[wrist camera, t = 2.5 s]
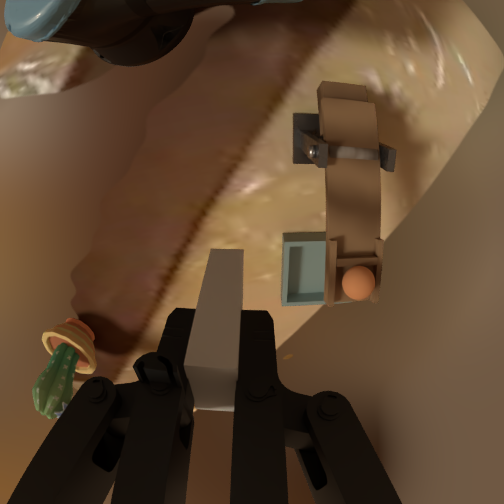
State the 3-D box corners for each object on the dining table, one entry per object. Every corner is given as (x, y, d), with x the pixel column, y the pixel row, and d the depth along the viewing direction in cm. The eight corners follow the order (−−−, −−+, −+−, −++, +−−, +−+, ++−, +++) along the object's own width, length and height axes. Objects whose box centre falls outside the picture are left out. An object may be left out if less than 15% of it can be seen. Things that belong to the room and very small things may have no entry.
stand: (292, 113, 33) (311, 119, 23) (362, 118, 33) (404, 129, 23) (292, 162, 37) (309, 189, 26) (359, 164, 36) (397, 192, 26)
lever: (313, 89, 28) (323, 72, 23) (359, 94, 28) (376, 80, 23) (318, 291, 33) (328, 307, 28) (363, 288, 33) (379, 303, 28)
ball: (340, 260, 27) (350, 278, 24) (370, 259, 27) (383, 276, 24) (336, 288, 29) (344, 308, 26) (365, 286, 29) (375, 305, 26)
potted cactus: (87, 355, 62) (57, 430, 41) (47, 318, 55) (5, 392, 34) (117, 343, 58) (85, 432, 36) (71, 299, 51) (21, 388, 29)
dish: (282, 233, 42) (284, 242, 40) (359, 231, 42) (364, 240, 40) (280, 295, 49) (281, 306, 47) (347, 292, 49) (351, 302, 46)
